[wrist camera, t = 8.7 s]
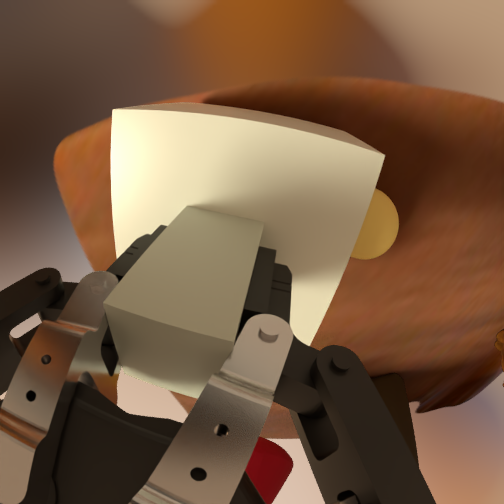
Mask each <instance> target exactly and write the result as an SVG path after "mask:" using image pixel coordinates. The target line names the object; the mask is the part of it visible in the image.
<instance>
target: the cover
mask: <svg viewBox="0 0 504 504" xmlns="http://www.w3.org/2000/svg"><path fill="white" fill-rule="evenodd" d="M384 158H385V155H384V154H382V153H381V152H379V151H378V150H376V149H374V148H373V147H371V146H369V145H368V144H366V143H364V142H363V141H361V140H359V139H357V138H356V137H354V136H352V135H350V134H349V133H347V132H345V131H342V130H339V129H335V128H332V127H328V126H324V125H321V124H317V123H313V122H309V121H304V120H300V119H296V118H291V117H287V116H282V115H277V114H272V113H266V112H261V111H255V110H249V109H242V108H236V107H228V106H220V105H212V104H202V103H190V102H184V103H167V104H154V105H144V106H135V107H127V108H120V109H113V114H112V132H111V194H112V213H113V226H114V237H115V247H116V255H117V259H118V258H119V256H120V255H121V254H122V253H124V251H125V250H126V249H127V248H128V247H130V245H131V244H132V243H133V242H134V241H135V240H136V239H137V238H139V237H141V236H143V235H145V234H152V233H153V232H154V231H155V230H156V229H157V228H158V227H159V226H160V225H166V226H167V227H166V229H165V230H164V231H163V232H162V233H161V234H160V235H159V236H158V237H157V239H156V240H155V241H154V242H153V243H152V244H151V245H150V246H149V248H148V249H147V250H146V251H145V252H144V253H143V255H142V256H141V257H140V258H139V259H138V260H137V262H136V263H135V264H134V265H133V266H132V267H131V269H130V270H129V271H128V272H127V273H126V275H125V276H124V277H123V278H122V280H121V281H120V282H119V283H118V284H117V286H116V287H115V288H114V289H113V291H112V292H111V293H110V294H109V296H108V297H107V298H106V300H105V301H104V302H103V304H104V308H105V312H106V316H107V320H108V323H109V327H110V331H111V334H112V337H113V341H114V344H115V347H116V350H117V353H118V356H119V359H120V362H121V365H122V368H123V371H124V373H125V374H126V375H129V376H131V377H134V378H136V379H139V380H142V381H145V382H147V383H150V384H153V385H156V386H159V387H162V388H165V389H168V390H171V391H174V392H177V393H181V394H184V395H187V396H191V397H194V398H199V396H200V394H201V393H202V391H203V389H204V388H205V386H206V384H207V382H208V381H209V379H210V378H211V376H212V375H213V374H214V373H218V372H219V371H220V370H221V368H222V366H223V364H224V362H225V361H226V359H227V357H228V355H229V353H230V352H231V351H232V350H233V346H234V344H235V343H236V341H237V336H238V332H239V327H240V322H241V317H242V313H243V308H244V304H245V300H246V296H247V292H248V288H249V284H250V280H251V276H252V272H253V268H254V264H255V260H256V256H257V253H258V249H259V246H261V247H266V248H270V249H274V250H276V258H275V263H278V264H283V265H287V266H288V268H289V270H290V271H291V273H292V285H291V286H292V291H291V310H290V327H291V329H292V331H293V334H294V335H295V336H296V338H297V339H299V340H300V341H301V342H302V343H304V344H306V345H308V346H310V344H311V342H312V340H313V338H314V336H315V334H316V332H317V330H318V328H319V326H320V324H321V322H322V320H323V317H324V315H325V313H326V311H327V309H328V307H329V305H330V302H331V300H332V298H333V296H334V293H335V291H336V289H337V287H338V284H339V282H340V280H341V277H342V275H343V273H344V270H345V268H346V265H347V263H348V261H349V258H350V256H351V253H352V251H353V248H354V246H355V243H356V240H357V238H358V235H359V232H360V230H361V227H362V224H363V222H364V219H365V216H366V213H367V210H368V208H369V205H370V202H371V199H372V196H373V193H374V190H375V187H376V184H377V181H378V177H379V174H380V171H381V168H382V164H383V161H384Z"/></svg>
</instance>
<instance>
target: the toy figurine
mask: <svg viewBox="0 0 504 504" xmlns="http://www.w3.org/2000/svg"><path fill="white" fill-rule="evenodd" d="M496 339H497V341H496V342H495V344H494V346H495V347H496V348H497V349H498V350H499V351H501V355H502V360H501V366H502V370H503V372H504V330H502V331H500V332H499V333H498V334H497V336H496ZM503 387H504V383H503Z"/></svg>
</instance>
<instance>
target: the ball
mask: <svg viewBox="0 0 504 504" xmlns="http://www.w3.org/2000/svg"><path fill="white" fill-rule="evenodd" d="M398 229H399V218H398V213H397V210H396V208H395V206H394V204H393V202H392V201H391V200H390V198H389V197H388V196H387V195H386V194H384V193H383V192H382V191H380V190H378V189H376V188H375V190H374V193H373V196H372V199H371V202H370V205H369V208H368V210H367V213H366V216H365V219H364V222H363V224H362V227H361V230H360V232H359V235H358V238H357V240H356V243H355V246H354V248H353V251H352V253H351V257H353V258H357V259H372V258H375V257H378V256H380V255H382V254H383V253H385V252H386V251H387V250H388V249H389V248H390V247H391V246H392V244H393V243H394V241H395V239H396V236H397V233H398Z"/></svg>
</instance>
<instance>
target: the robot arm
mask: <svg viewBox="0 0 504 504" xmlns="http://www.w3.org/2000/svg"><path fill="white" fill-rule="evenodd" d="M166 227H167V226H166V225H160V226H159V227H158V228H157V229H156V230H155V231H154V232H153V233H152V234H145V235H143V236H141V237H139V238H137V239H136V240H135V241H134V242H133V243H132V244H131V245H130V247H128V248H127V249H126V250H125V251H124V253H122V254H121V255H120V256H119V258H118V259H117V260H116V261H115V262H114V263H113V264H112V265H111V266H110V267H109V268H108V269H107V270H106V271H96V272H92V273H90V274H88V275H86V276H85V277H84V278H82V280H81V281H80V282H79V283H72V282H62V278H61V275H60V273H59V271H58V270H56V269H54V268H43V269H40V270H38V271H36V272H34V273H32V274H30V275H28V276H27V277H25V278H23V279H21V280H20V281H18V282H16V283H14V284H12V285H11V286H9V287H7V288H5V289H4V290H2V291H1V292H0V395H2V394H3V393H4V392H6V391H7V393H6V395H5V398H4V399H3V400H1V399H0V504H266V503H265V501H264V500H263V498H262V497H261V495H260V493H259V492H258V490H257V489H256V487H255V486H254V484H253V482H252V481H251V479H250V477H249V476H248V474H247V472H246V471H245V469H246V466H247V464H248V462H249V459H250V457H251V455H252V452H253V450H254V448H255V445H256V443H257V440H258V438H259V435H260V433H261V430H262V428H263V425H264V423H265V420H266V418H267V415H268V413H269V410H270V407H271V405H272V402H273V401H274V402H276V403H278V404H280V405H282V406H284V407H286V408H288V409H289V411H290V414H291V417H292V419H293V422H294V425H295V427H296V430H297V433H298V435H299V438H300V440H301V443H302V446H303V448H304V451H305V453H306V456H307V458H308V461H309V464H310V466H311V469H312V471H313V474H314V476H315V479H316V481H317V484H318V486H319V489H320V491H321V494H322V496H323V499H324V501H325V504H436V503H435V500H434V498H433V496H432V494H431V492H430V490H429V488H428V486H427V484H426V481H425V480H424V478H423V475H422V474H421V471H420V469H419V467H418V465H417V463H416V461H415V459H414V457H413V456H412V454H411V452H410V450H409V448H408V446H407V444H406V442H405V440H404V438H403V436H402V434H401V433H400V431H399V429H398V427H397V425H396V423H395V421H394V420H393V418H392V416H391V414H390V412H389V410H388V409H387V407H386V405H385V403H384V401H383V400H382V398H381V396H380V394H379V392H378V391H377V389H376V387H375V385H374V384H373V382H372V380H371V378H370V377H369V375H368V373H367V371H366V370H365V368H364V366H363V364H362V363H361V361H360V359H359V358H358V356H357V355H356V354H355V353H354V352H352V351H351V350H349V349H348V348H345V347H343V346H338V345H331V346H327V347H325V348H323V349H322V350H321V351H319V350H317V349H314V348H312V347H310V346H308V345H306V344H304V343H302V342H301V341H300V340H299V339H297V338H296V336H295V335H294V334H293V331H292V329H291V327H290V310H291V291H292V286H291V285H292V273H291V271H290V270H289V268H288V266H287V265H283V264H278V263H275V258H276V250H274V249H270V248H266V247H261V246H259V249H258V253H257V256H256V260H255V264H254V268H253V272H252V276H251V280H250V284H249V288H248V292H247V296H246V300H245V304H244V308H243V313H242V317H241V322H240V327H239V332H238V336H237V341H236V343H235V344H234V346H233V350H232V351H231V352H230V353H229V355H228V357H227V359H226V361H225V362H224V364H223V366H222V368H221V370H220V371H219V372H218V373H214V374H213V375H212V376H211V378H210V379H209V381H208V382H207V384H206V386H205V388H204V389H203V391H202V393H201V394H200V396H199V398H198V399H197V401H196V403H195V405H194V406H193V408H192V410H191V411H190V413H189V415H188V416H187V418H186V420H185V421H184V423H181V422H177V421H174V420H171V419H164V418H155V417H147V416H140V415H133V414H129V413H126V412H125V411H123V410H122V409H120V408H119V407H118V406H117V380H118V377H119V373H120V370H121V366H122V365H121V362H120V359H119V356H118V353H117V350H116V347H115V344H114V341H113V337H112V334H111V331H110V327H109V323H108V320H107V316H106V312H105V308H104V304H103V302H104V301H105V300H106V298H107V297H108V296H109V294H110V293H111V292H112V291H113V289H114V288H115V287H116V286H117V284H118V283H119V282H120V281H121V280H122V278H123V277H124V276H125V275H126V273H127V272H128V271H129V270H130V269H131V267H132V266H133V265H134V264H135V263H136V262H137V260H138V259H139V258H140V257H141V256H142V255H143V253H144V252H145V251H146V250H147V249H148V248H149V246H150V245H151V244H152V243H153V242H154V241H155V240H156V239H157V237H158V236H159V235H160V234H161V233H162V232H163V231H164V230H165V229H166ZM36 313H38V315H39V317H40V319H41V321H42V323H41V324H39V325H38V326H36V327H35V328H33V329H32V330H30V331H29V332H27V333H26V334H24V335H23V336H21V337H19V338H13V337H12V336H11V335H10V331H11V330H12V329H13V328H14V327H15V326H17V325H19V324H20V323H21V322H23V321H25V320H26V319H28V318H30V317H31V316H33V315H34V314H36Z"/></svg>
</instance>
